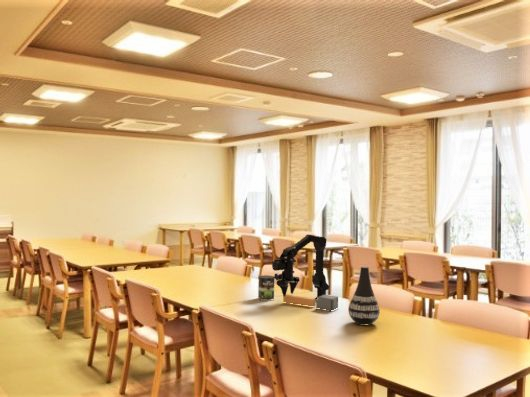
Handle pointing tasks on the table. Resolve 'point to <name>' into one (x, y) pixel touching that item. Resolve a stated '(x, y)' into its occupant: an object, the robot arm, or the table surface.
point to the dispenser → (327, 302)
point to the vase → (364, 301)
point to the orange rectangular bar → (299, 300)
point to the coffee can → (266, 287)
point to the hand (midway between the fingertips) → (288, 295)
